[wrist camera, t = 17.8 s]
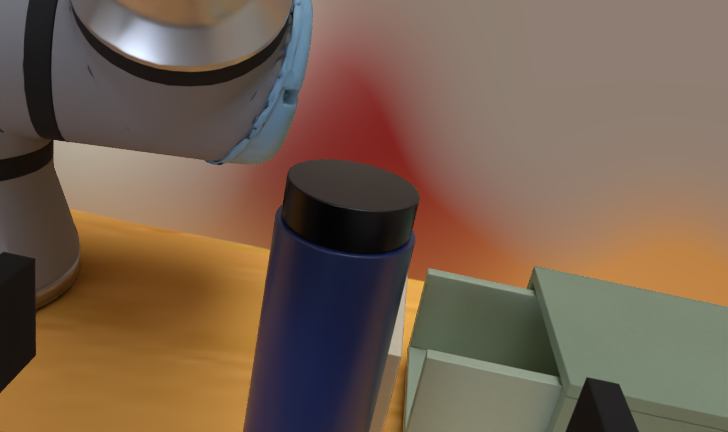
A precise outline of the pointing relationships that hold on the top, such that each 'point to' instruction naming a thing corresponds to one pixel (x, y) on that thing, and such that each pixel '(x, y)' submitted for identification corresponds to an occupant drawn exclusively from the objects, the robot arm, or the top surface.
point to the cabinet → (637, 350)
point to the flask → (330, 297)
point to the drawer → (472, 360)
